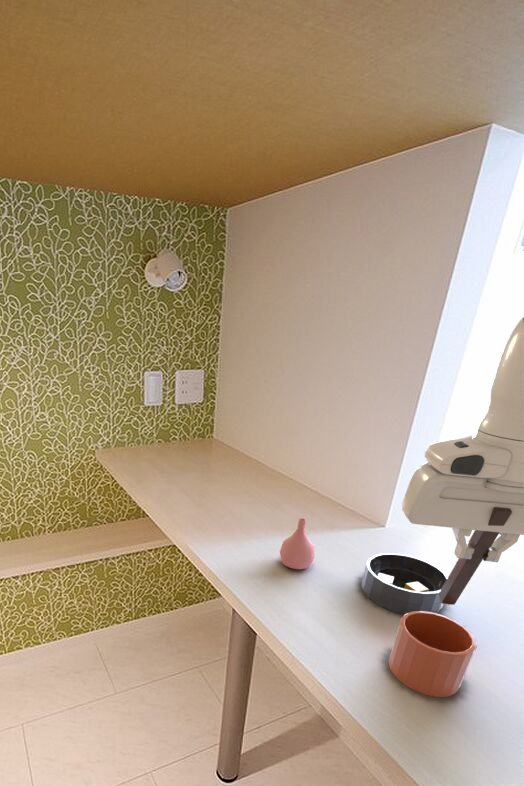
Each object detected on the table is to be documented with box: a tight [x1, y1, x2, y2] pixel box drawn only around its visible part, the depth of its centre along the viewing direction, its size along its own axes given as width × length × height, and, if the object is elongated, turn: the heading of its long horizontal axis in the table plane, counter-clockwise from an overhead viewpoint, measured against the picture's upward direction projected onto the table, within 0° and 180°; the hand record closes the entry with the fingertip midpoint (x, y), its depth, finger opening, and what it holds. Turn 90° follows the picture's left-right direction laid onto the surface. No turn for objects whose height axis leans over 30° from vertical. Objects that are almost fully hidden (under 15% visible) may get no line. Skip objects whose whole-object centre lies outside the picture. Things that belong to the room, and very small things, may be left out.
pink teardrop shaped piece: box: [279, 517, 316, 570], centre depth 98 cm, size 8×8×12 cm
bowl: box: [360, 552, 449, 615], centre depth 89 cm, size 15×15×6 cm
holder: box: [388, 611, 478, 698], centre depth 68 cm, size 10×10×9 cm
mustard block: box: [404, 581, 429, 592], centre depth 88 cm, size 3×3×3 cm
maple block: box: [377, 573, 394, 584], centre depth 90 cm, size 3×3×3 cm
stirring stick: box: [439, 507, 512, 606], centre depth 59 cm, size 2×2×18 cm
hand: (474, 558), depth 58 cm, fingers closed on stirring stick, 2 cm apart
